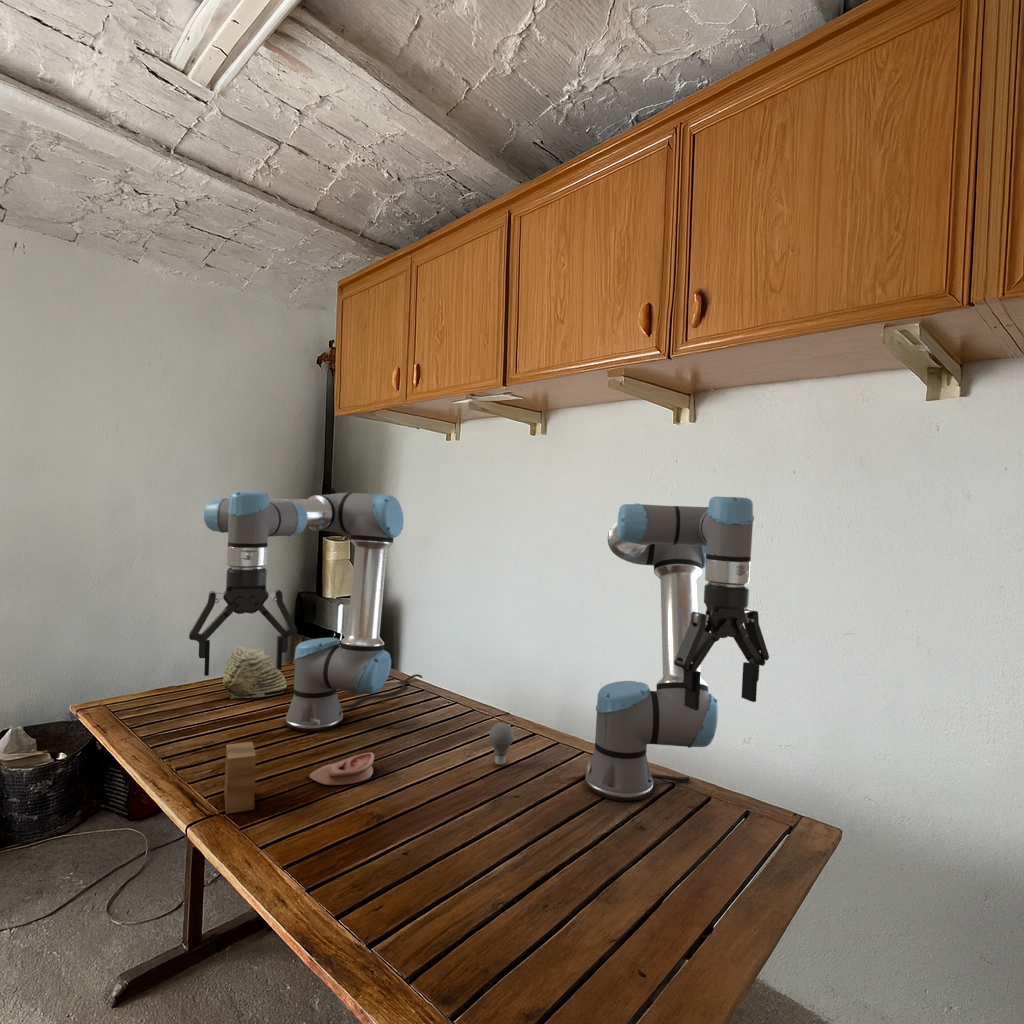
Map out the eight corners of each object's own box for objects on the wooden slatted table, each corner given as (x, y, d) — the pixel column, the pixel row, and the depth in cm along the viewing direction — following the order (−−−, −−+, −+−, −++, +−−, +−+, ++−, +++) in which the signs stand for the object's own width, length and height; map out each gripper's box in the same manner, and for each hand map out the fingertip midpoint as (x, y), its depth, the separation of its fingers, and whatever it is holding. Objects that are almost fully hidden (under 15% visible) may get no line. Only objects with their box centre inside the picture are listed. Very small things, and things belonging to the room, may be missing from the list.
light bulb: (487, 758, 157) (489, 718, 156) (511, 759, 157) (513, 719, 157) (488, 769, 151) (490, 727, 150) (513, 769, 151) (515, 727, 151)
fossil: (218, 695, 195) (220, 647, 195) (278, 685, 208) (279, 640, 207) (228, 703, 189) (230, 653, 188) (289, 692, 201) (290, 645, 201)
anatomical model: (302, 763, 140) (328, 744, 151) (302, 781, 140) (327, 761, 151) (358, 771, 137) (380, 751, 148) (358, 789, 137) (379, 768, 148)
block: (224, 796, 132) (226, 744, 132) (250, 792, 134) (252, 741, 134) (226, 814, 125) (227, 759, 125) (254, 809, 127) (256, 755, 127)
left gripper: (177, 570, 120) (173, 681, 120) (313, 568, 131) (309, 670, 131) (178, 565, 126) (174, 671, 127) (307, 564, 138) (304, 661, 138)
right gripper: (687, 588, 103) (681, 718, 103) (793, 585, 114) (787, 702, 114) (657, 582, 109) (651, 704, 110) (760, 580, 121) (754, 690, 121)
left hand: (243, 671), depth 129 cm, fingers open, 13 cm apart
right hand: (720, 703), depth 112 cm, fingers open, 13 cm apart
